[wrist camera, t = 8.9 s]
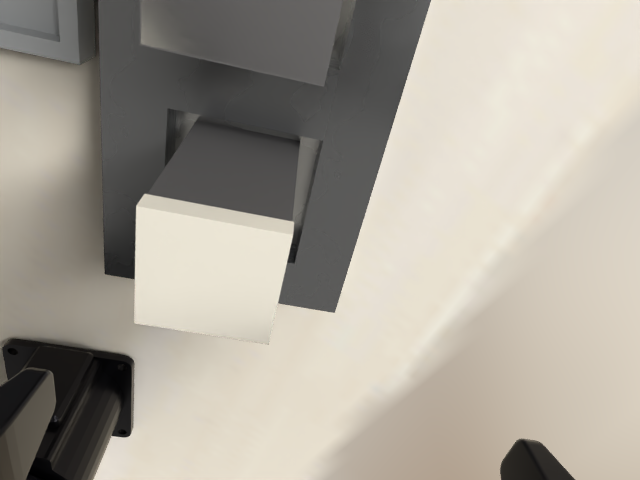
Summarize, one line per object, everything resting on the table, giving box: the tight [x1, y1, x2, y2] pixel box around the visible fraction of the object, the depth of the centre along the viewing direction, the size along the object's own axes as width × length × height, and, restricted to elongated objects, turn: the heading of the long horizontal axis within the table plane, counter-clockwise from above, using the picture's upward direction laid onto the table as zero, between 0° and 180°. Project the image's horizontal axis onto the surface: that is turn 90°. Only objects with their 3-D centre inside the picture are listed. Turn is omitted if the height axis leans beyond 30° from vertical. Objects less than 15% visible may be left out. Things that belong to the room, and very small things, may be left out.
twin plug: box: [134, 120, 300, 345], centre depth 17 cm, size 4×4×7 cm
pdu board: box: [98, 0, 431, 313], centre depth 17 cm, size 18×10×2 cm, turn 168°
